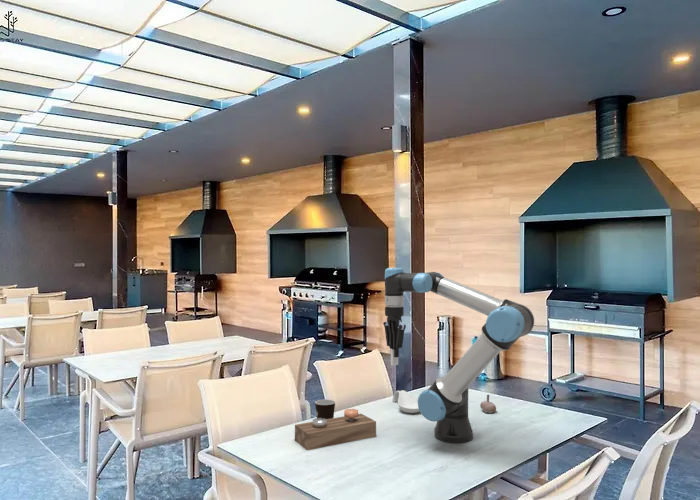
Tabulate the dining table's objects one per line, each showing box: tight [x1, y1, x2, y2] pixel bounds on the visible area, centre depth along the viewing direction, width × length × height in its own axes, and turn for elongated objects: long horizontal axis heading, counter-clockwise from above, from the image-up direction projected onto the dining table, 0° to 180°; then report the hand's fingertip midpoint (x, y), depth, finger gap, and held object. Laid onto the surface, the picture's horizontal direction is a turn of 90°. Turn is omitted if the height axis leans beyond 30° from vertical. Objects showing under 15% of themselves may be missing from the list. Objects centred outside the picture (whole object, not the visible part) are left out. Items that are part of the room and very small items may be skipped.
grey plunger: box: [312, 417, 327, 428], centre depth 200 cm, size 6×6×8 cm
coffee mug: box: [314, 398, 336, 419], centre depth 220 cm, size 12×9×10 cm
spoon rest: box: [392, 389, 420, 414], centre depth 244 cm, size 24×12×7 cm, turn 18°
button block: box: [294, 413, 377, 451], centre depth 203 cm, size 12×30×6 cm, turn 119°
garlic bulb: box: [480, 394, 497, 414], centre depth 238 cm, size 8×7×8 cm
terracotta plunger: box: [343, 408, 359, 422], centre depth 206 cm, size 6×6×8 cm
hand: (394, 364), depth 206 cm, fingers closed
